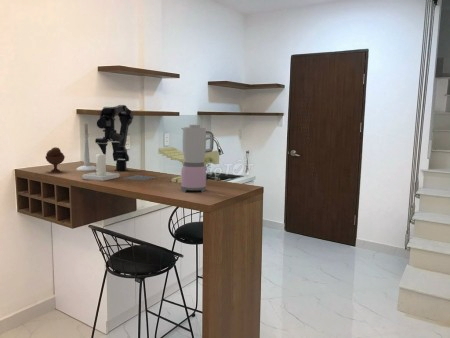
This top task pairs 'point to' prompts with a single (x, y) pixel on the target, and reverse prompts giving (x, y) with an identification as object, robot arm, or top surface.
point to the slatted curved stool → (178, 155)
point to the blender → (195, 157)
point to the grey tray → (94, 177)
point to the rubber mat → (139, 177)
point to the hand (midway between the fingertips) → (109, 154)
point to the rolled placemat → (101, 165)
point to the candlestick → (86, 154)
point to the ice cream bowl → (55, 158)
